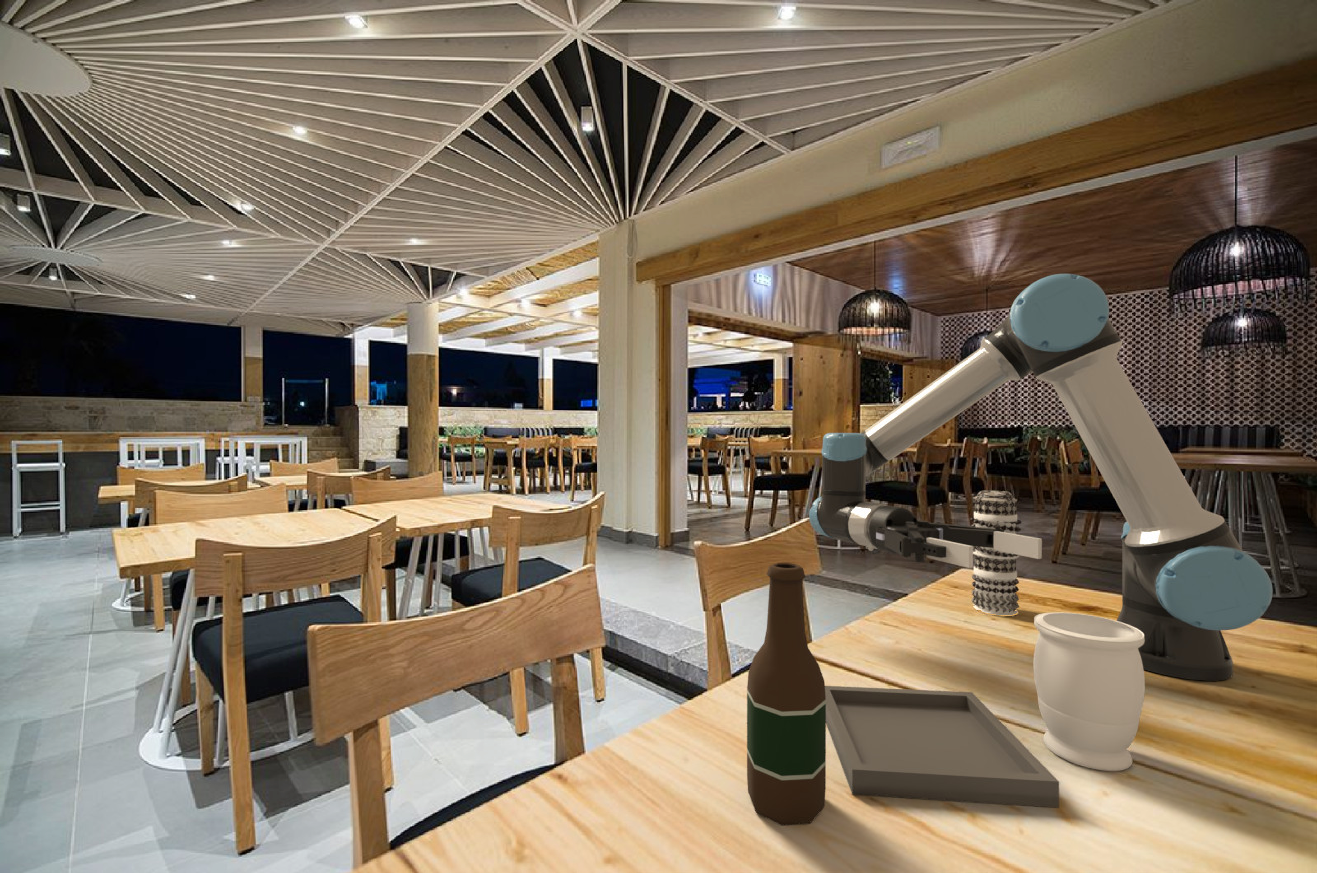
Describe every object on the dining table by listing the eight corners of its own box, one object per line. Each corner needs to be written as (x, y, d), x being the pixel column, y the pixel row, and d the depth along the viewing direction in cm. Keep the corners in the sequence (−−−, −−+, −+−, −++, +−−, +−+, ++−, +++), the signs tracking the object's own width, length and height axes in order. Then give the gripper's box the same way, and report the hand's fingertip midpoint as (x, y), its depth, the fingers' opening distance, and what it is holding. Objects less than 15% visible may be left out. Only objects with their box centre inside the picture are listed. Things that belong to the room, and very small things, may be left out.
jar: (1107, 788, 61) (1108, 646, 61) (1013, 740, 70) (1013, 617, 70) (1165, 765, 65) (1166, 632, 65) (1068, 723, 75) (1069, 606, 75)
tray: (971, 711, 78) (971, 692, 78) (1058, 807, 58) (1058, 781, 58) (819, 704, 80) (819, 685, 80) (852, 794, 60) (852, 769, 60)
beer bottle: (779, 839, 53) (780, 578, 53) (731, 792, 60) (731, 561, 60) (842, 813, 57) (843, 569, 57) (790, 772, 64) (790, 554, 64)
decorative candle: (1020, 620, 116) (1021, 494, 115) (967, 612, 121) (968, 492, 121) (1021, 608, 123) (1022, 490, 123) (972, 601, 128) (972, 488, 128)
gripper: (937, 544, 101) (1065, 572, 82) (823, 556, 91) (938, 591, 72) (938, 501, 101) (1066, 519, 82) (824, 508, 91) (939, 530, 72)
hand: (1007, 552), depth 77 cm, fingers open, 13 cm apart
